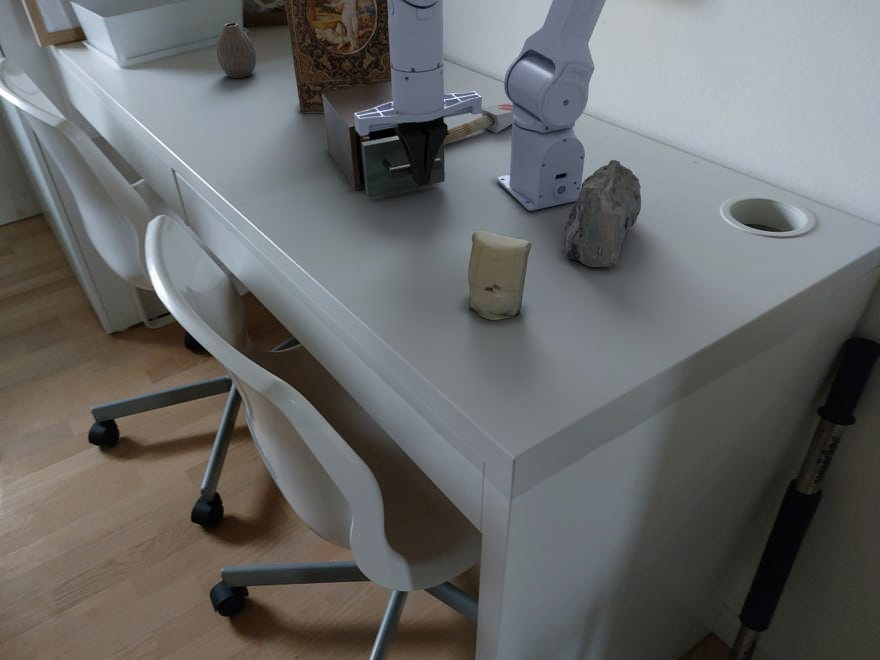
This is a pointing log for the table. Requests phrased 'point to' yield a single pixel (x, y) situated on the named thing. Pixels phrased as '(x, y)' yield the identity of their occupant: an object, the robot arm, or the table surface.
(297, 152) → the table surface
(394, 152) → the drawer
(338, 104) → the cabinet
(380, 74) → the book
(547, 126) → the robot arm
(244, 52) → the vase
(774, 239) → the table surface
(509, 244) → the cream tall block
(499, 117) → the paintbrush
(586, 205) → the mineral rock
